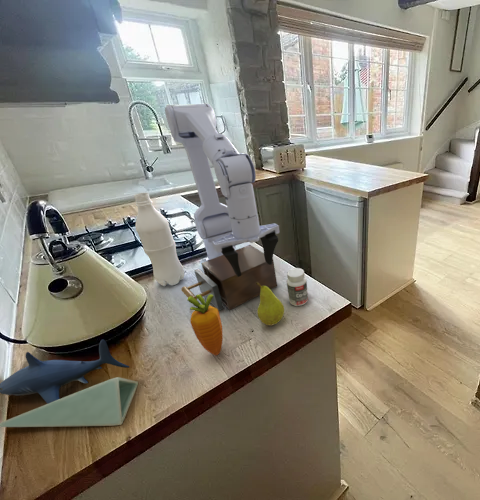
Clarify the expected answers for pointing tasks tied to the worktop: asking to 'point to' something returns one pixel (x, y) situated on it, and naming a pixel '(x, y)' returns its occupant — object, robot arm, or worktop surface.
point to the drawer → (207, 288)
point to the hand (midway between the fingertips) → (254, 268)
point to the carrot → (207, 324)
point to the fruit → (269, 307)
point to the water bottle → (157, 242)
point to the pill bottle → (297, 287)
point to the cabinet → (242, 275)
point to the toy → (53, 375)
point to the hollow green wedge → (83, 407)
